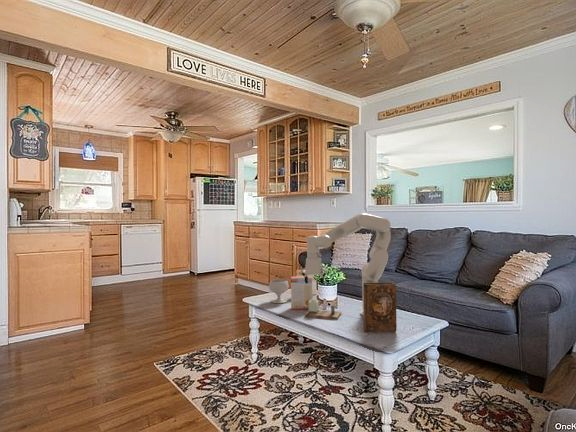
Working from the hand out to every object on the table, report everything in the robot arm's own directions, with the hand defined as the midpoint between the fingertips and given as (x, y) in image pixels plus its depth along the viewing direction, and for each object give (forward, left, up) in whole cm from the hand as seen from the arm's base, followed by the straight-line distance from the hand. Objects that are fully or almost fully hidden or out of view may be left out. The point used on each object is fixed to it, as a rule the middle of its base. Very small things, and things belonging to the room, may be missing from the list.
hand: (314, 283), depth 216 cm
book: (-40, +18, -19) cm, 48 cm away
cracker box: (+12, -11, -19) cm, 25 cm away
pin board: (-5, 0, -19) cm, 20 cm away
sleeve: (0, 0, -18) cm, 18 cm away
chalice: (+33, -23, -19) cm, 44 cm away
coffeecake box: (+20, -48, -19) cm, 55 cm away
